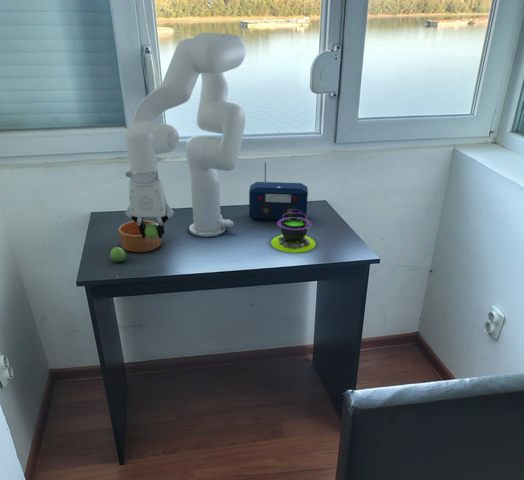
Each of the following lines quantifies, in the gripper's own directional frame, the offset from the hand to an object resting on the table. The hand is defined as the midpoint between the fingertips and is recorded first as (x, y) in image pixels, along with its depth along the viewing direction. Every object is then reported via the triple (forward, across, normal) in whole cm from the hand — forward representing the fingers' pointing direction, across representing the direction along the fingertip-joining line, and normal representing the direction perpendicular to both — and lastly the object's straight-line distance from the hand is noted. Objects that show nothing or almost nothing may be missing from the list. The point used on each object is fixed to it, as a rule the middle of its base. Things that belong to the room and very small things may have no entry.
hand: (152, 235), depth 157 cm
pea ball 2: (-2, 0, 0) cm, 2 cm away
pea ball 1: (+6, -11, -1) cm, 13 cm away
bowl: (+9, -7, +12) cm, 16 cm away
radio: (+10, +38, +39) cm, 55 cm away
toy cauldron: (+10, +44, +16) cm, 47 cm away
